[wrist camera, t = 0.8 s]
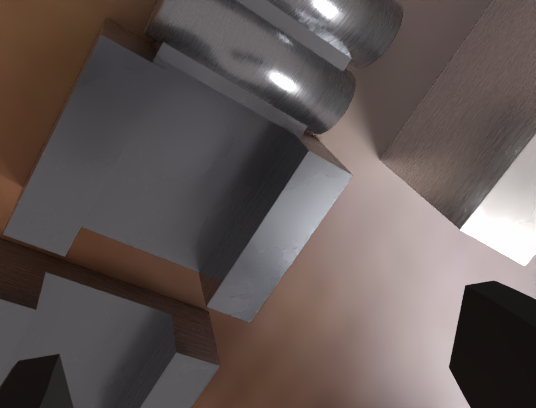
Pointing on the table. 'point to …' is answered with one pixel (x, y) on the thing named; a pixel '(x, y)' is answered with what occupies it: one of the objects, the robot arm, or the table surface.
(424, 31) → the table surface
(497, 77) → the pale grey rectangular prism
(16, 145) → the table surface
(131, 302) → the chain end
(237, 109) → the chain end
